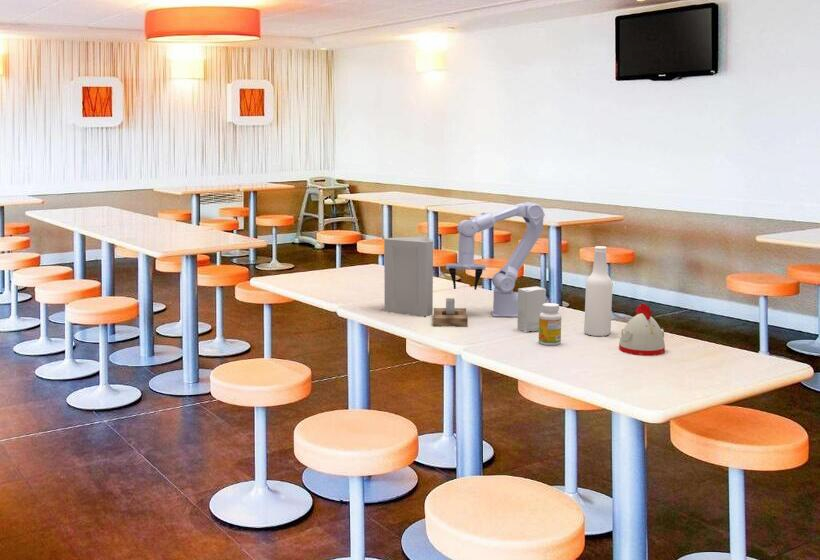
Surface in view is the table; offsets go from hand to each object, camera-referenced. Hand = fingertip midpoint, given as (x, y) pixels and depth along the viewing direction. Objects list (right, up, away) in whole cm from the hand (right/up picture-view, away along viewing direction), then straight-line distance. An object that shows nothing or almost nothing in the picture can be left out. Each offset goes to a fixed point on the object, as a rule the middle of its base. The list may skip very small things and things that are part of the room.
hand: (465, 288), depth 321 cm
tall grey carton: (-19, -9, +11) cm, 23 cm away
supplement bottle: (+25, -18, -39) cm, 50 cm away
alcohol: (+44, -15, -26) cm, 53 cm away
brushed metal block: (-6, -12, -7) cm, 15 cm away
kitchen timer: (+53, -19, -48) cm, 74 cm away
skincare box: (+22, -14, -21) cm, 33 cm away
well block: (-6, -12, -7) cm, 15 cm away
